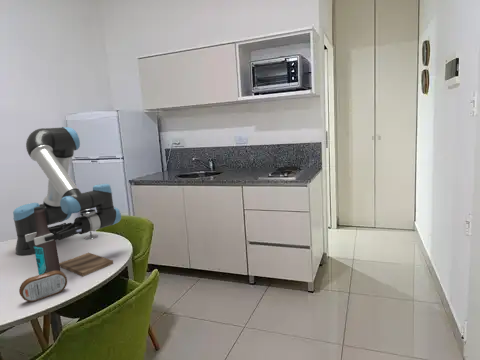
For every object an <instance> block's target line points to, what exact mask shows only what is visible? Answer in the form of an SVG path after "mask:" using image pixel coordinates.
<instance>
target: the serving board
mask: <svg viewBox="0 0 480 360" xmlns="http://www.w3.org/2000/svg"><path fill="white" fill-rule="evenodd" d="M113 264H114V260H113V259H111V258H110V259H109V258H106V257H103V256H100V255H97V254H94V253H91V252H87V253H83V254H81V255H78V256H75V257H72V258H70V259H67V260H64V261H62V262H59V265H60V269H64V270H66V271H69V272H71V273H74V274H76V275H78V276H81V277H84V276H87V275H90V274H92V273H95V272H97V271H99V270H102V269H104V268H107V267H109V266H111V265H113Z"/></svg>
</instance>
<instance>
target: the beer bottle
mask: <svg viewBox="0 0 480 360" xmlns="http://www.w3.org/2000/svg"><path fill="white" fill-rule="evenodd" d="M44 211H45V210H44V207H43V206H39V207H35V208H34V213H35V220H36V230H37V234H36V236H35V238H37V237H40V236H44V235H47V234H51V232H49V229H48V227H49V225H47V221H46V217H45V213H44ZM56 241H57V240H52V241H49V242H45V243H42V244H39V245H35V242H34V241H33V243H34V250H35V253H34V255H35V261H36V266H37V267H36V268H37V272H38V275H41V274H45V273H48V272H51V271H61V267H60V265H59V263H60V261H59V255H58V254H59V253H58V247H57V242H56Z"/></svg>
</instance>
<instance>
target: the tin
mask: <svg viewBox="0 0 480 360" xmlns="http://www.w3.org/2000/svg"><path fill="white" fill-rule="evenodd" d="M67 285H68V278H67V276H66V274H65V273H64V272H63V271H61V270H60V271H51V272H48V273H45V274H41V275H39V274H37V275H35V276H31V277H28V278H26V279H25V280H24V281H23V282H22V283H21V284H20V286H19V295H20V296H21V298H22V299H23V300H24V301H26V302H36V301H40V300H42V299H45V298H48V297H52V296H53V295H54V296H55V295H58V294H60V293H61V292H63V291H64V290H65V288H66V287H67Z"/></svg>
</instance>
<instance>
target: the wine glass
mask: <svg viewBox="0 0 480 360" xmlns="http://www.w3.org/2000/svg"><path fill="white" fill-rule="evenodd" d="M96 212H97V210H96V209H95V208H92V209H87V210H84V211H80V212H79V217H81V216H85V215H88V214H92V213H96ZM98 237H99V235H98V234H92V231H89V235H88V236H85V237H84V240H92V239H93V240H94V239H97V238H98Z"/></svg>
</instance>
